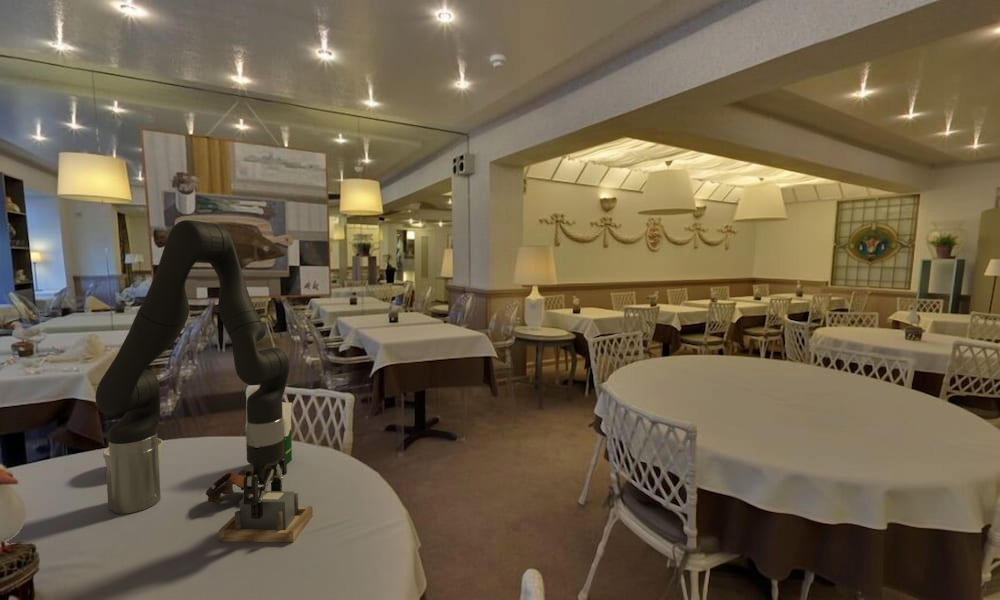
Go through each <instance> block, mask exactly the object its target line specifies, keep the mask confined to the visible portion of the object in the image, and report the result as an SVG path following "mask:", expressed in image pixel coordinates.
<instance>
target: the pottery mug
mask: <svg viewBox="0 0 1000 600" xmlns="http://www.w3.org/2000/svg"><path fill="white" fill-rule="evenodd" d="M252 472H253V470H251V468H246V467H245V468H244V469H241V470H240V471H239V472H238V473H235V472H234V471H229V472H227V473H225V474H224V475H222V476H221V477H219V478H218V479H217V480H216V481H214V482H213V485H214V487H212V486H209V488H208V489H206V491H205V495H206V496H207V497H208V498H207V502H208V503H209V504H210V503H211V504H212V503H214V502H217V503H221V496H222V495H233V494H235V491H234V487H233V485H235V486H237V488H240V490H241V491H244V477H245V476H251V475H252Z"/></svg>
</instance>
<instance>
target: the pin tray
mask: <svg viewBox="0 0 1000 600" xmlns="http://www.w3.org/2000/svg"><path fill="white" fill-rule="evenodd" d="M294 508H295V519H294V520H293V521H292V522H291V524H290V525H289V526H288V528H287V529H286V530H283V519H282V511H279V512H277V513H276V525H277V530H254V529H242V523H241V511H240V510H236V511H235V512H234V515H233V516H232V517H231V518H230V519H229V520H228V521H227V522H226V523H225V524H224V525H223V526H222V527H221V528H220V529H219V530H218V531H219V532H218V533H219V542H243V543H244V542H245V543H247V542H248V543H294V542H295V541H296V540H297V539H298V537H299V536H300V534H301V533H302V531H303V530H304V529H305V528H306V526H307V524H308V523H309V522H310V520H311V519H312V518H313V505H308V506H306V507H305V506H299V493H298V492H294Z"/></svg>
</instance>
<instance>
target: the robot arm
mask: <svg viewBox="0 0 1000 600" xmlns="http://www.w3.org/2000/svg"><path fill="white" fill-rule="evenodd" d="M165 241H166V242H165V244H164V247H163V250H162V254H161V257H160V259H159V262H158V266H157V269H156V271H155V274H154V277H153V279H152V281H151V284H150V286H149V288H148V289H147V292H146V295H145V297H144V299H143V301H142V303H140V306H139V309H138V310H137V313H136V315H135V316H134V319H133V321H132V324H131V326H130V328H129V331H128V333H127V335H126V337H125V338H124V341H123V343H122V345H121V347H120V348H119V350H118V352H117V354H116V356H115V358H114V359H113V360H112V362H111V364H110V365H109V367H108V368H107V370H106V371H105V372H104V375H102V377H101V380H100V381H99V382H98V385H97V387H96V391H95V404H96V406H97V408H98V410H99V411H100V412H101V413H103V414H106V415H109V416H115V415H121V414H124V415H123V416H122V418H121V419H119V420H118V421H117V422H116V423H114V424H113V425H112V426H111V427H110V428H109V430H108V433H107V437H108V439H107V440H108V447H109V456H110V470H109V471H107V470H106V474H105V478H106V490H107V491H106V492H107V508H108V511H113V513H116V514H120V515H121V514H123V515H125V514H133V513H136V512H140V511H143V510H146V509H148V508H149V509H150V507H152V506H154V505H156V504H157V503H158V502H159V501H160V500H161V496H162V495H161V480H160V479H161V477H160V476H161V475H160V463H159V456H158V426H159V424H160V420H161V398H162V397H161V394H162V393H161V386H160V385H161V384H160V382H159V379H158V377H157V376H156V374H155V373H154V372H153V371H152V370H150V369H147V368H148V367H149V366H150V365H151V364H152V363H153V362H154V361H155V360H157V359H158V358H159V357H160V356H161V355H162V354H164V353H165V352H166V351H167V350H168V349H169V348H170V347H171V346H172V345H173V344H174V343H175V342H176V341H177V339H178V338H179V336H180V335H181V333H182V331H183V329H184V327H185V325H186V323H187V321H188V318H189V316H190V304H189V299H188V295H187V292H186V283H187V282H186V281H187V279H188V277H189V274H190V272H191V271H192V268H193V267H194V265H195V264H196V263H197V264H198V263H199V264H210V265H211V267H212V268H213V270H214V272H215V273H216V276H217V278H218V281H219V295H218V302H217V305H218V306H217V307H218V314H219V318H220V320H221V323H222V325H223V327H224V328H225V331H226V333H227V335H228V337H229V339H230V342H231V347H232V348H231V349H232V354H233V362H234V368H235V372H236V375H237V377H238V378H239V379H240V380H241V381H242V382H243V383H245V384H246V385H248V386H257V385H259V387H258V389H256V390H255V391H254V392H253V393H251V394H250V395H249V396H248V397H247V399H246V419H247V420H246V429H245V436H246V437H245V438H246V439H245V440H246V441H245V442H246V443H245V444H246V445H245V446H246V461H247V462H248V464H250V465H251V466H252V467H253V468H252V475H251V476H246V475H245V477H244V490H243V498H244V499H243V498H242V499H243V503H244V504H245V505H247V504H250V505H251V518H252V519H261V518H262V516H263V501H262V499H263V496H264V492H266V491H268V488H269V485H270V491H283V485H282V484H283V480H284V476H286V475H287V473H288V467H287V466H288V464H287V463H286V451H284V423H283V416H282V402H283V397H284V394H285V390H286V386H287V382H288V378H289V374H290V361H289V360H290V359H289V357H288V355H287V353H286V352H285V351H284V350H282V349H281V348H278V347H270V348H265V349H260V350H258V346H257V342H260V341H261V340H262V339H264V337H265V336H266V334H267V333H266V332H267V331H266V327H265V325H264V323H263V322H262V319H261V317H260V315H259V313H258V311H257V309H256V308H255V305H254V303H253V301H252V299H251V296H250V294H249V291H248V288H247V284H246V281H245V278H244V275H243V271H242V267H241V263H240V261H239V257H238V254H237V249H236V247H235V246H236V245H235V244H234V240H233V238H232V235H231V234H230V232H229V230H227V229H226V227H224V226H223V225H220V224H218V223H213V222H205V221H199V220H191V219H184V220H180V221H178V222H177V223H176V224H174V226H173V227H172V228H171V230H170V232H169V234H168V236H167V238H166V240H165ZM280 466H282V469H280ZM258 491H260V493H259V497H258ZM249 494H250V496H249Z"/></svg>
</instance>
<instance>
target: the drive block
mask: <svg viewBox="0 0 1000 600" xmlns="http://www.w3.org/2000/svg"><path fill="white" fill-rule="evenodd" d="M259 493H260V491H258V497H259ZM294 493H295V491H286V490H285V491H283V490H282V491H271V490H267V491H266V492H264V496H263V499H262V501H263V516H262V518H261V519H252V518H251V505H250V504H247V505H245V504H244V503H243V499H244V497H243V498H241V500H239V511H241V523H242V529H254V530H277V525H276V513H277V512H279V511H282V519H283V530H286V529H287V528H288V526H289V525H290V524H291V522H292V521H293V520H294V519H295V508H294ZM249 496H250V494H249Z"/></svg>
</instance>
